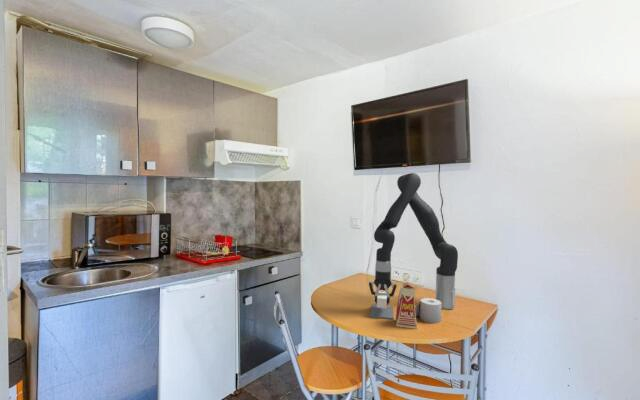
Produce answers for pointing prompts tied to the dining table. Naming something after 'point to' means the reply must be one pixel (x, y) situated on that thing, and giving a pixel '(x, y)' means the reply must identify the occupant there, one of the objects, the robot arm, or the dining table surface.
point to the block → (382, 299)
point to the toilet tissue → (429, 310)
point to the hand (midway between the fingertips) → (382, 303)
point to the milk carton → (406, 307)
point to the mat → (382, 312)
